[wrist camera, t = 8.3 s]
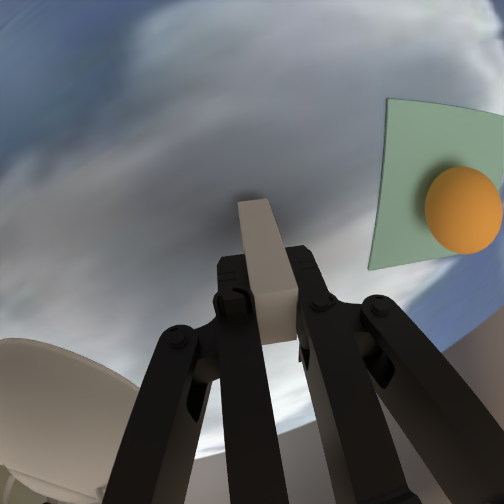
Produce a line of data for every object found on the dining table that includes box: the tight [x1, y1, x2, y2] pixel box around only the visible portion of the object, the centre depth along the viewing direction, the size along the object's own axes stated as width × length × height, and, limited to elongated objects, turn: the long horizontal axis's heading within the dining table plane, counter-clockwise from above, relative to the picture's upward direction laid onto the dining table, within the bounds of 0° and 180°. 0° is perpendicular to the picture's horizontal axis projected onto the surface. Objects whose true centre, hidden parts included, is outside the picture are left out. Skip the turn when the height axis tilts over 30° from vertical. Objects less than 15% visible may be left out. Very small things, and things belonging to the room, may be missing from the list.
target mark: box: [368, 98, 504, 271], centre depth 18 cm, size 12×12×1 cm
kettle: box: [0, 338, 140, 504], centre depth 20 cm, size 25×23×22 cm
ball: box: [425, 167, 502, 254], centre depth 16 cm, size 6×6×6 cm
